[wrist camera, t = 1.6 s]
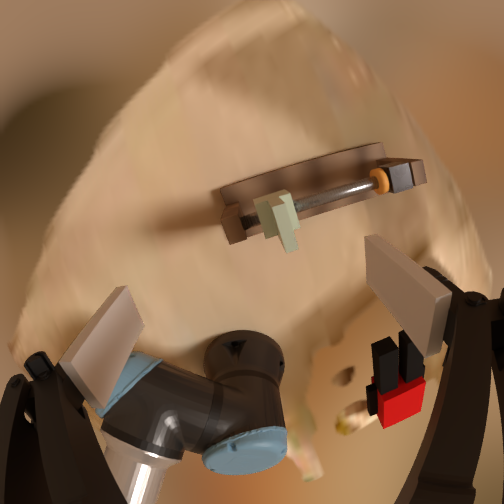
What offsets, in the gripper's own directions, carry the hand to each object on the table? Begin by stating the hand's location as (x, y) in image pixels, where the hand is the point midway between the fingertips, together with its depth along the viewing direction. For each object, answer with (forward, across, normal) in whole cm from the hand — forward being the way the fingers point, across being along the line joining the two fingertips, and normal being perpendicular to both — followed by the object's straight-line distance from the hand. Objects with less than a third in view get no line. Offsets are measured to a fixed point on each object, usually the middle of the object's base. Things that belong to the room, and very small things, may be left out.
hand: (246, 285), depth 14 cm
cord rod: (+20, -10, 0) cm, 23 cm away
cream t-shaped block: (+20, -3, +1) cm, 21 cm away
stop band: (+20, -17, -1) cm, 26 cm away
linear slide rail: (+28, -10, 0) cm, 30 cm away
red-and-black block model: (+28, -24, +43) cm, 57 cm away
